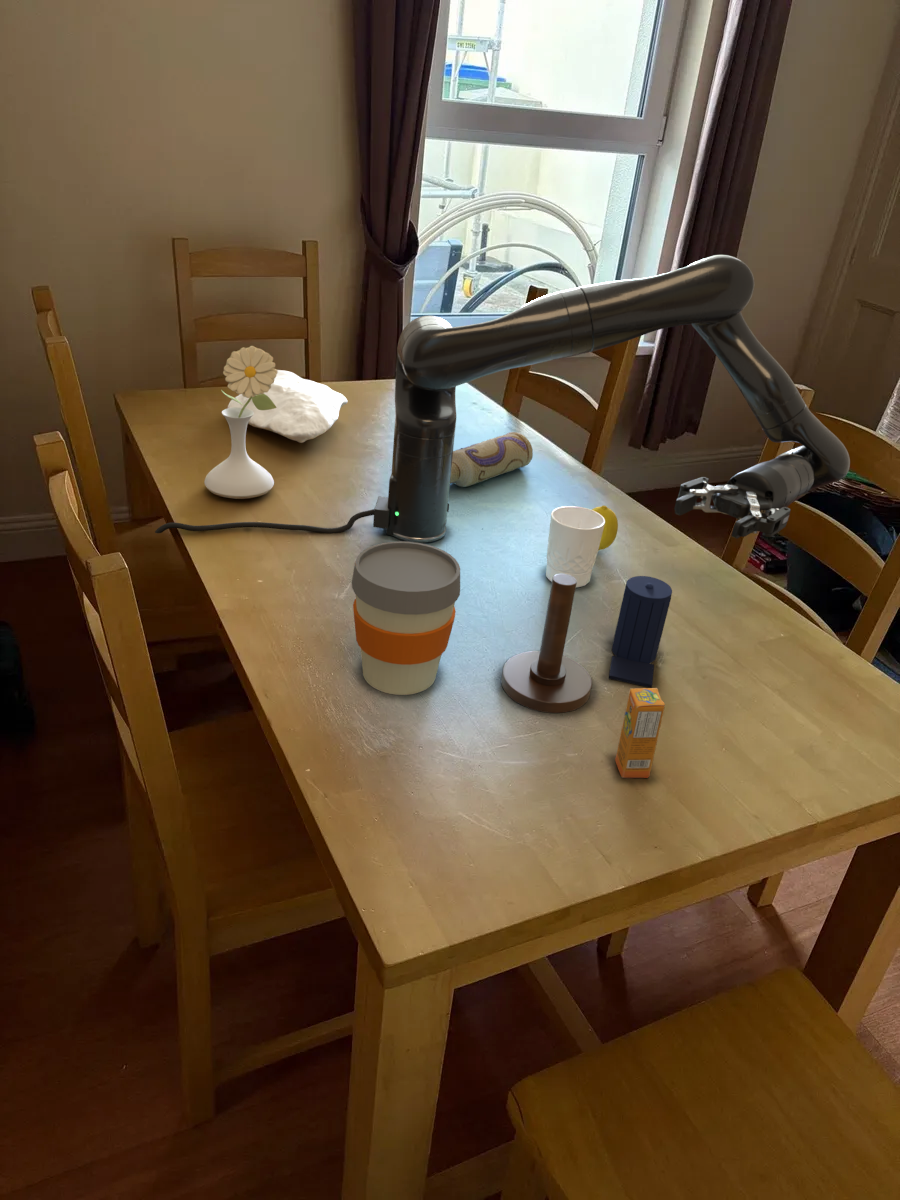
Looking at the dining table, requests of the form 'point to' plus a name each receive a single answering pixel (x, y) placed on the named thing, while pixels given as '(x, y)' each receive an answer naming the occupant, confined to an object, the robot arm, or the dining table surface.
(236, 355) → the flower in vase
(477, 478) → the decorative bottle
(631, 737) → the supplement box
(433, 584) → the reusable coffee cup
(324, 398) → the crumpled cloth
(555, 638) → the paper towel holder
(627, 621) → the navy lidded canister
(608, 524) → the lemon
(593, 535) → the white cup
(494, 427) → the dining table surface
